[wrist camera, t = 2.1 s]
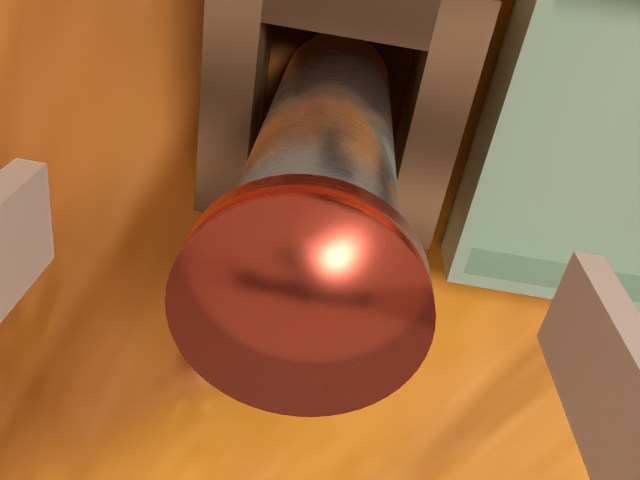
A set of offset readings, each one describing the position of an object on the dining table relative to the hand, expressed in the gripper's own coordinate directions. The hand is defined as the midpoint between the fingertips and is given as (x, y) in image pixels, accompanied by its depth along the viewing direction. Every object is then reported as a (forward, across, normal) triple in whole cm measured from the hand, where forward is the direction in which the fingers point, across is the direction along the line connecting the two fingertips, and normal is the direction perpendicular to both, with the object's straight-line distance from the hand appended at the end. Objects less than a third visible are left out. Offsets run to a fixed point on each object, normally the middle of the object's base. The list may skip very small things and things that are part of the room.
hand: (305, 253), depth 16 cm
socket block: (+13, 0, 0) cm, 13 cm away
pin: (+13, 0, 0) cm, 13 cm away
